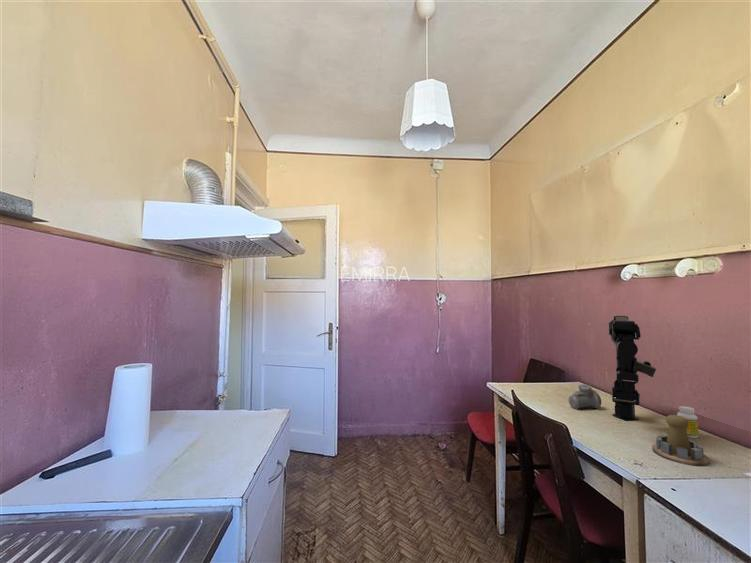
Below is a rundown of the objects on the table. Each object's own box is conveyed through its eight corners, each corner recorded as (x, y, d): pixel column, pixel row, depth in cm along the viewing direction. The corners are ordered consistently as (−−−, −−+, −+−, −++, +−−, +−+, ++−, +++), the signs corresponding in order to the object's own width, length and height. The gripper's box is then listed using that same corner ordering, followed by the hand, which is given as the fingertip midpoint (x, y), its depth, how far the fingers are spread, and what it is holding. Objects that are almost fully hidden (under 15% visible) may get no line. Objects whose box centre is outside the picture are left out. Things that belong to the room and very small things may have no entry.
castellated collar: (674, 443, 110) (674, 434, 110) (713, 458, 99) (712, 448, 99) (647, 445, 108) (647, 436, 108) (684, 461, 97) (683, 451, 97)
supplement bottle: (693, 439, 115) (691, 411, 116) (674, 433, 120) (673, 406, 121) (701, 436, 117) (700, 409, 118) (683, 431, 122) (681, 404, 123)
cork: (697, 456, 100) (695, 419, 101) (676, 456, 101) (674, 419, 101) (680, 447, 106) (678, 413, 107) (661, 447, 107) (659, 412, 107)
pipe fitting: (588, 403, 154) (587, 381, 154) (602, 410, 146) (601, 387, 146) (565, 407, 152) (564, 385, 152) (579, 414, 144) (577, 391, 144)
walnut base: (673, 444, 111) (673, 441, 111) (720, 463, 98) (720, 460, 98) (641, 447, 109) (641, 444, 109) (685, 467, 96) (685, 464, 96)
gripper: (656, 358, 112) (658, 406, 110) (651, 353, 127) (653, 394, 125) (615, 355, 118) (617, 400, 117) (615, 350, 133) (617, 390, 132)
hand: (627, 396), depth 123 cm, fingers open, 9 cm apart
